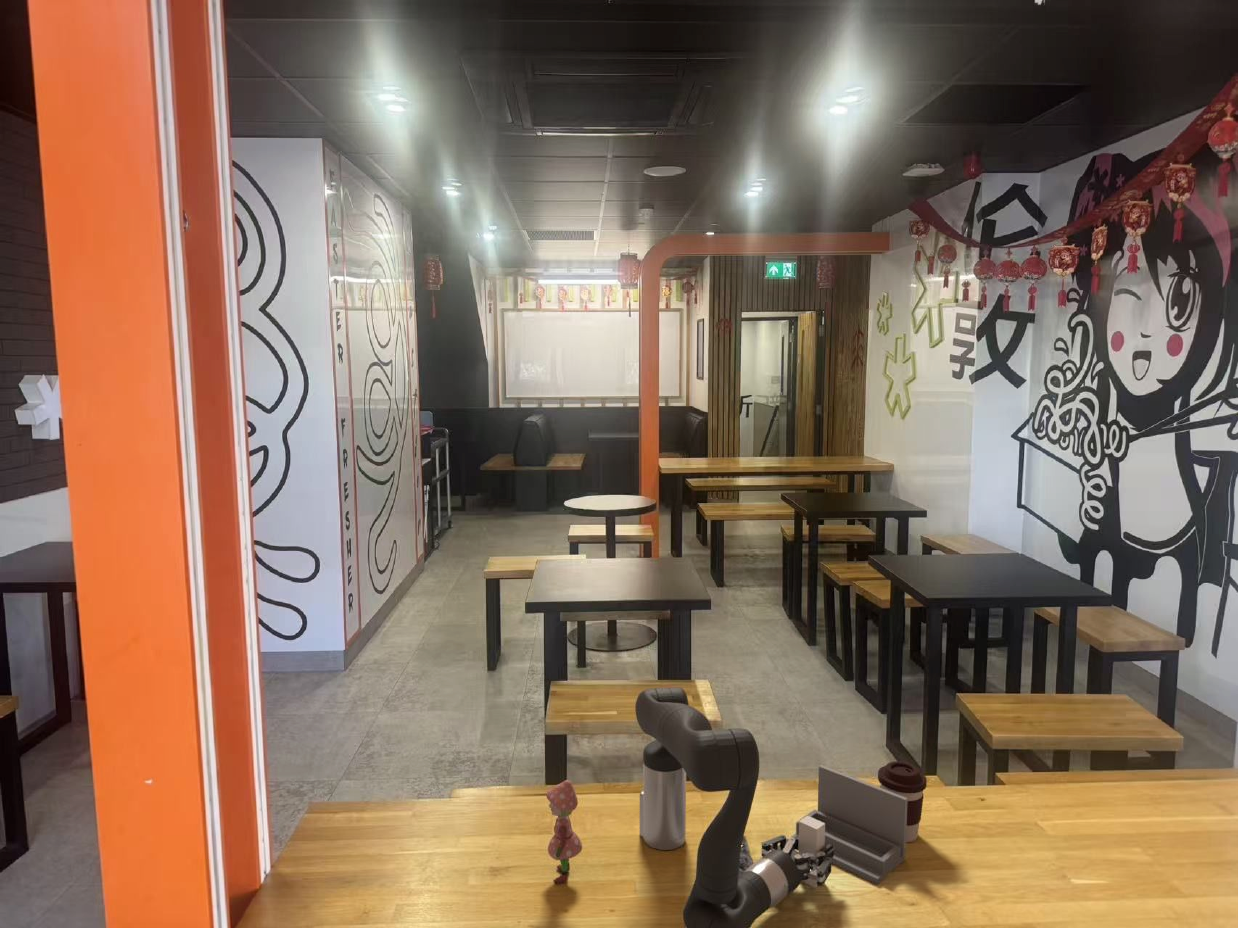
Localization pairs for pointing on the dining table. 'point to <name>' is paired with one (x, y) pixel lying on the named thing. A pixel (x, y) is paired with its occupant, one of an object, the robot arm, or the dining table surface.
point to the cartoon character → (563, 827)
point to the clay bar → (811, 839)
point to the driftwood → (744, 857)
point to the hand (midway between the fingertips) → (818, 842)
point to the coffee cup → (905, 791)
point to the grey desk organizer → (861, 824)
